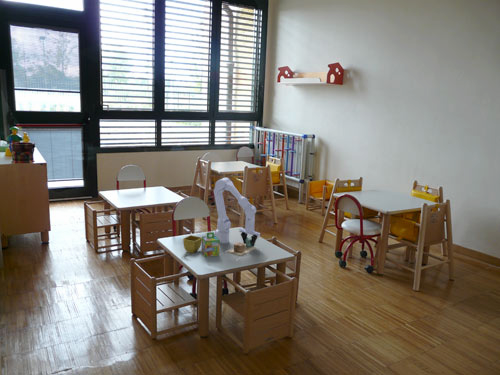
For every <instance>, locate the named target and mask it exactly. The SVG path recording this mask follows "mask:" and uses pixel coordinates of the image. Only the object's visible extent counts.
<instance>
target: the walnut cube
mask: <svg viewBox="0 0 500 375" xmlns="http://www.w3.org/2000/svg"><path fill="white" fill-rule="evenodd" d="M245 245H246V244H244V242H243V243H242V242H239V241H238V242H235V243H234V244H233V247H234V252H238V253H242V252H244V251H245Z"/></svg>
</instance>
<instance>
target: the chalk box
mask: <svg viewBox="0 0 500 375" xmlns="http://www.w3.org/2000/svg"><path fill="white" fill-rule="evenodd" d="M214 235H215V231H214V232H213V231H212V232H207V233H206V235H205V236H204V235H203V236H201V238H202V241H201V253H202V255H203V256H204V257H206V258H207V257H209V258H210V257H217V256H218V255H219V254H220V244H221V243H220V240H219V239H218V238H217V237H216V236H214Z"/></svg>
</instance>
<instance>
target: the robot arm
mask: <svg viewBox="0 0 500 375" xmlns="http://www.w3.org/2000/svg"><path fill="white" fill-rule="evenodd" d="M214 184H215V185H214V189H213V195H214V201H215V205H216V211H217V216H218V218H217V221H216V222H217V225H216V230H215V231H214V236H216V237H217V238H218V239H219V240H220V244H228V243H230V228H231V227H232V222H231V221H230V218H229V217H228V215H227V210H226V206H225V205H226V204H225V201H224V200H225V199H224V195H223V193H224V191H228V192H230V193H231V194H232V195H233V196H234V197H235V198H236V199H237V203H238V205H239V206H240V207H241V208H242V209H243V211H244V215H245V225H244V226H245V228H240V229H239V230H238V231H239V233H240V236H241V239H242V242H243V243H244V244H245V245H246V239H247V237H248V235H251V237H250V238H252V246H254V247H255V244H256V241H257V239H258V238H259V237H261V232H259V231H256V230H255V225H256V224H255V220H256V213H257V208H256V205H253V204H251V203H250V202H249V200H248V197H245V196H243V195H242V194H241V193H240V192H239V190H238V189H237V188H236V187H235V185H234V182H233V181H232V180H231V179H230V178H229V177H223V178H221V179H218V180H217V181H216V182H215V183H214Z"/></svg>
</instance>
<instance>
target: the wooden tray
mask: <svg viewBox="0 0 500 375" xmlns="http://www.w3.org/2000/svg"><path fill="white" fill-rule="evenodd" d="M256 248H257V246H255V245H254V246H252V238H251V237H249V236H247V239H246V244H245V251H244V252H242V253H238V252H234V249H232V250H229V249H227V250H228V252H227V253H230V254H234V255H237V256H240V257H242V256H243V255H245V254H247V253H249V252H251V251H252V250H254V249H256Z"/></svg>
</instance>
